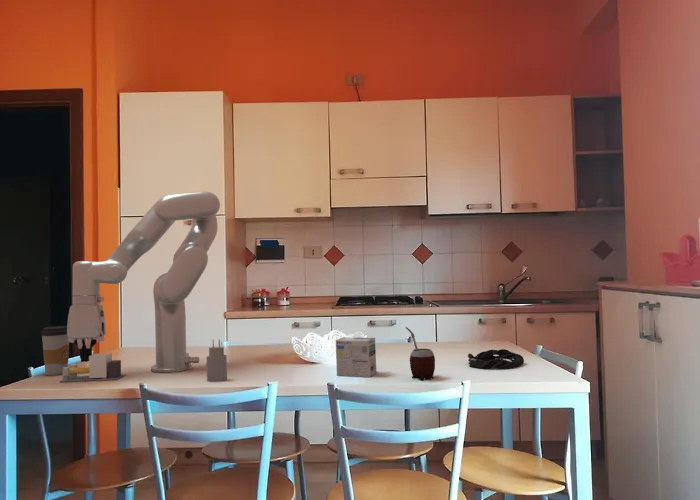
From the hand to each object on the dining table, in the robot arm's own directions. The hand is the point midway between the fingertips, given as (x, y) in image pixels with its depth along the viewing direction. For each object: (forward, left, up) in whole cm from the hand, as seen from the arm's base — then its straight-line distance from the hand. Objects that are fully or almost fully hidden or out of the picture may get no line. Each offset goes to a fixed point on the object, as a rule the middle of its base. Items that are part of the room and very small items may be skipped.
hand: (85, 361), depth 165 cm
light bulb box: (-83, +8, -6) cm, 83 cm away
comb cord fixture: (-2, 0, -6) cm, 6 cm away
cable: (-127, +2, -6) cm, 127 cm away
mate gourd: (-101, +17, -6) cm, 102 cm away
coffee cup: (+14, -11, -6) cm, 19 cm away
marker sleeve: (-4, 0, -6) cm, 7 cm away
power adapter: (-42, +9, -6) cm, 43 cm away
